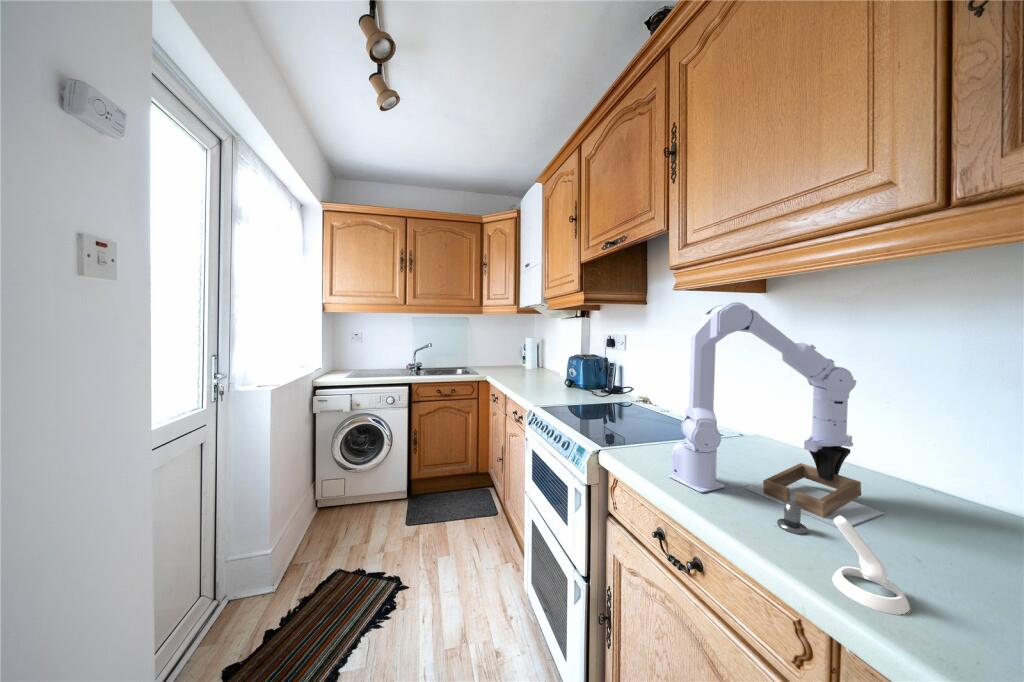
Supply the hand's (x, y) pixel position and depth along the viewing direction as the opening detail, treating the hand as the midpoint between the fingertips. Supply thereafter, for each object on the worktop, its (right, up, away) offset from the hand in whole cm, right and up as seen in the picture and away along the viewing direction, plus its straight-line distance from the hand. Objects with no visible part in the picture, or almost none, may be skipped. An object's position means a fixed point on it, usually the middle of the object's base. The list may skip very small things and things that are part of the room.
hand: (827, 478), depth 78 cm
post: (-18, -4, -13) cm, 23 cm away
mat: (-6, -4, -2) cm, 8 cm away
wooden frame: (-6, -3, -2) cm, 7 cm away
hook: (-21, -5, -29) cm, 36 cm away
